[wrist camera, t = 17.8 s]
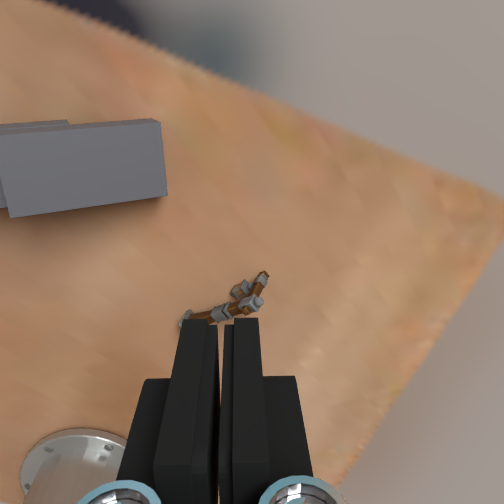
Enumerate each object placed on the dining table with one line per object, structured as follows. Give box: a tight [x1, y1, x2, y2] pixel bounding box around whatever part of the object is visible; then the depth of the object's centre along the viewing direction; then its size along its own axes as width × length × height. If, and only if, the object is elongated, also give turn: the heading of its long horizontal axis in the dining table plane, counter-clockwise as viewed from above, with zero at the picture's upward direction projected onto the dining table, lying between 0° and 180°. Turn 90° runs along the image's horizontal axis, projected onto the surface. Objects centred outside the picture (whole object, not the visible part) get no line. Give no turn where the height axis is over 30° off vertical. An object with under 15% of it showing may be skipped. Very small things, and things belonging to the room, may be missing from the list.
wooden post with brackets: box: [178, 271, 269, 327], centre depth 37 cm, size 2×8×4 cm, turn 125°
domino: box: [0, 118, 168, 218], centre depth 30 cm, size 2×5×10 cm
